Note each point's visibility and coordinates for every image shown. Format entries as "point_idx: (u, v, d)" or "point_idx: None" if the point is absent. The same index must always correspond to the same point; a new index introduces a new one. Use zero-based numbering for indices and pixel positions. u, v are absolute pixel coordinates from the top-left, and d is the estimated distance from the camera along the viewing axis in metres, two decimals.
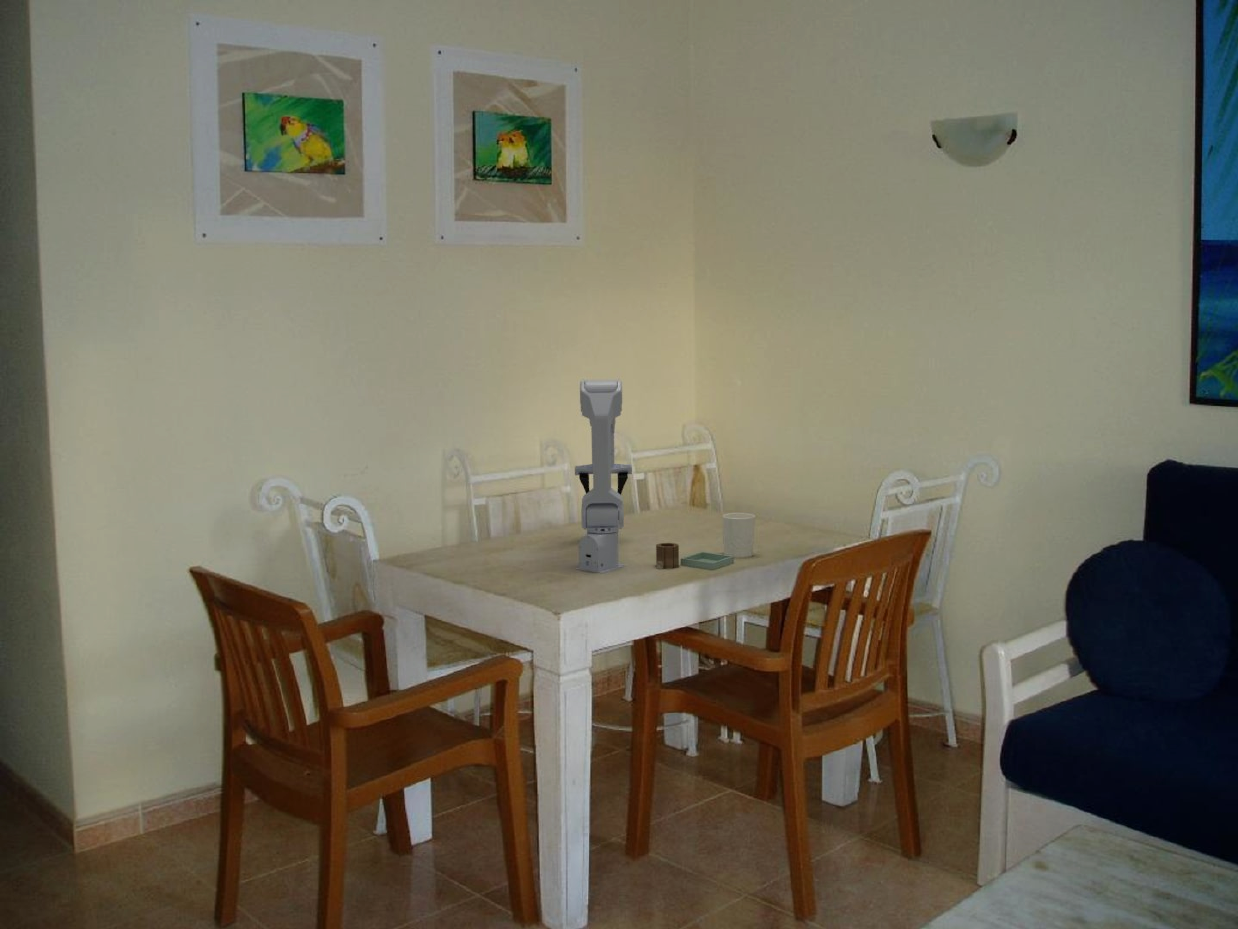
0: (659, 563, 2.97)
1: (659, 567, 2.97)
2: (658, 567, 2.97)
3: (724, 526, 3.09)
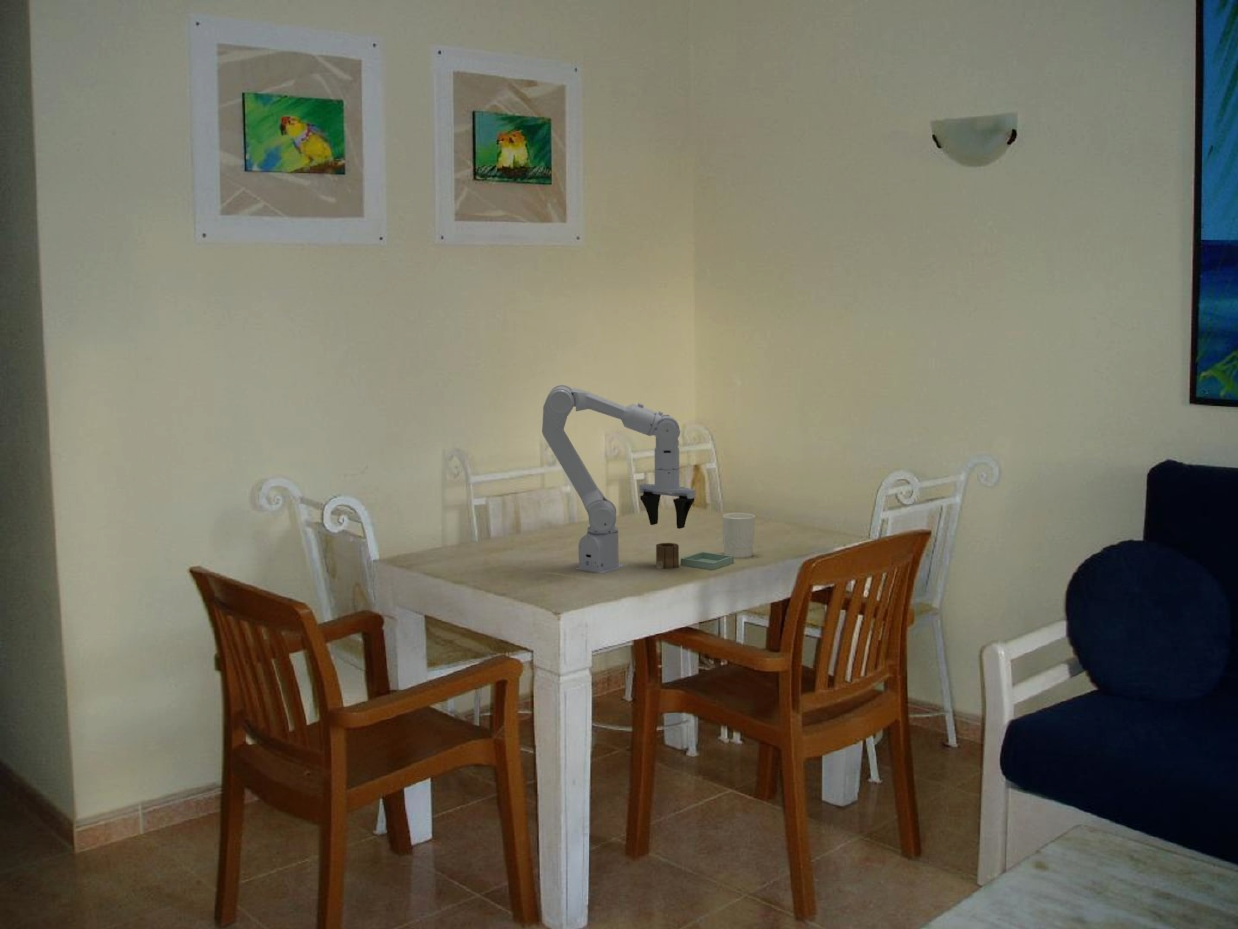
0: (659, 563, 2.97)
1: (659, 567, 2.97)
2: (658, 567, 2.97)
3: (724, 526, 3.09)
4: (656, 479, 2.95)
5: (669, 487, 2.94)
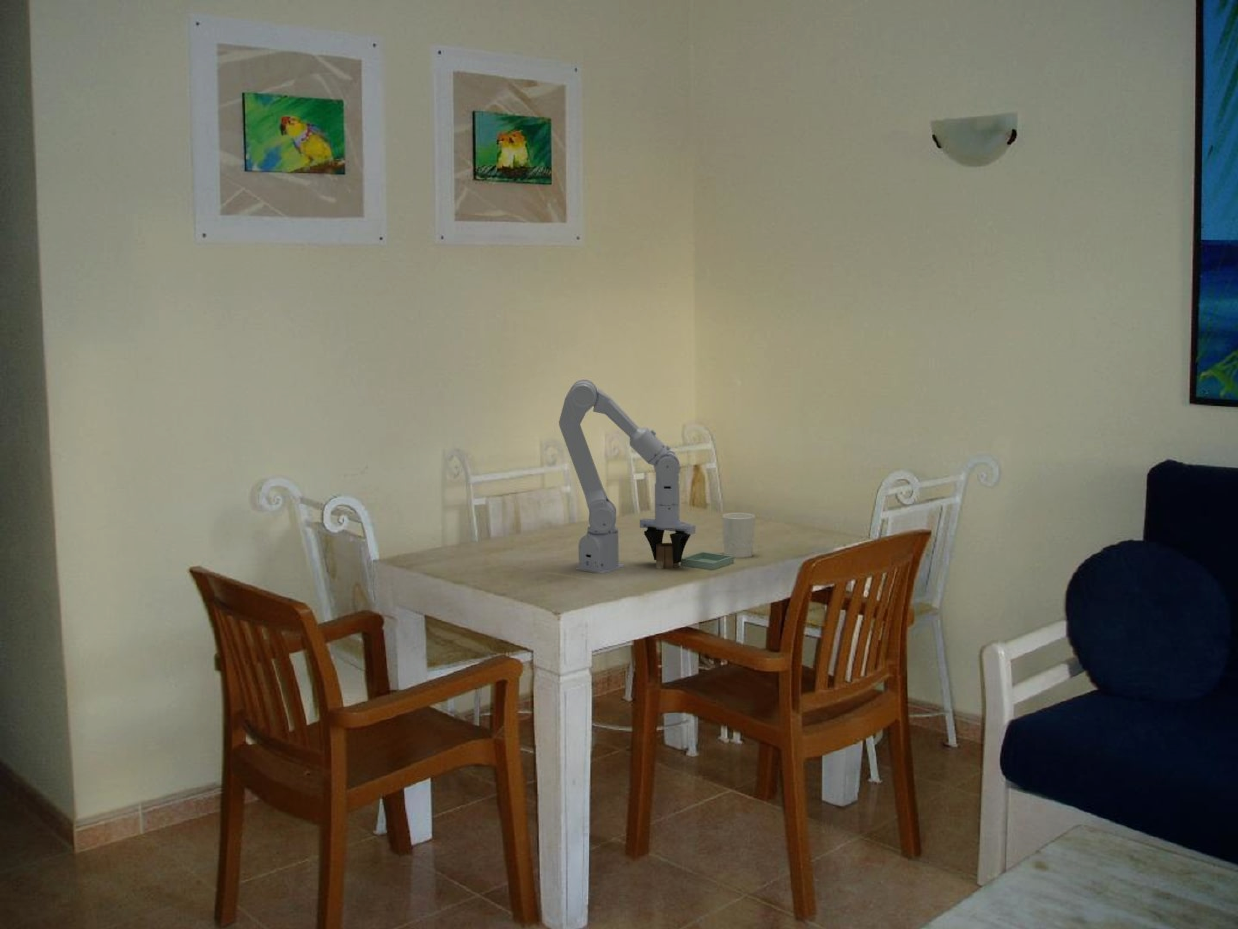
0: (659, 563, 2.97)
1: (659, 567, 2.97)
2: (658, 567, 2.97)
3: (724, 526, 3.09)
4: (656, 514, 2.97)
5: (669, 523, 2.95)
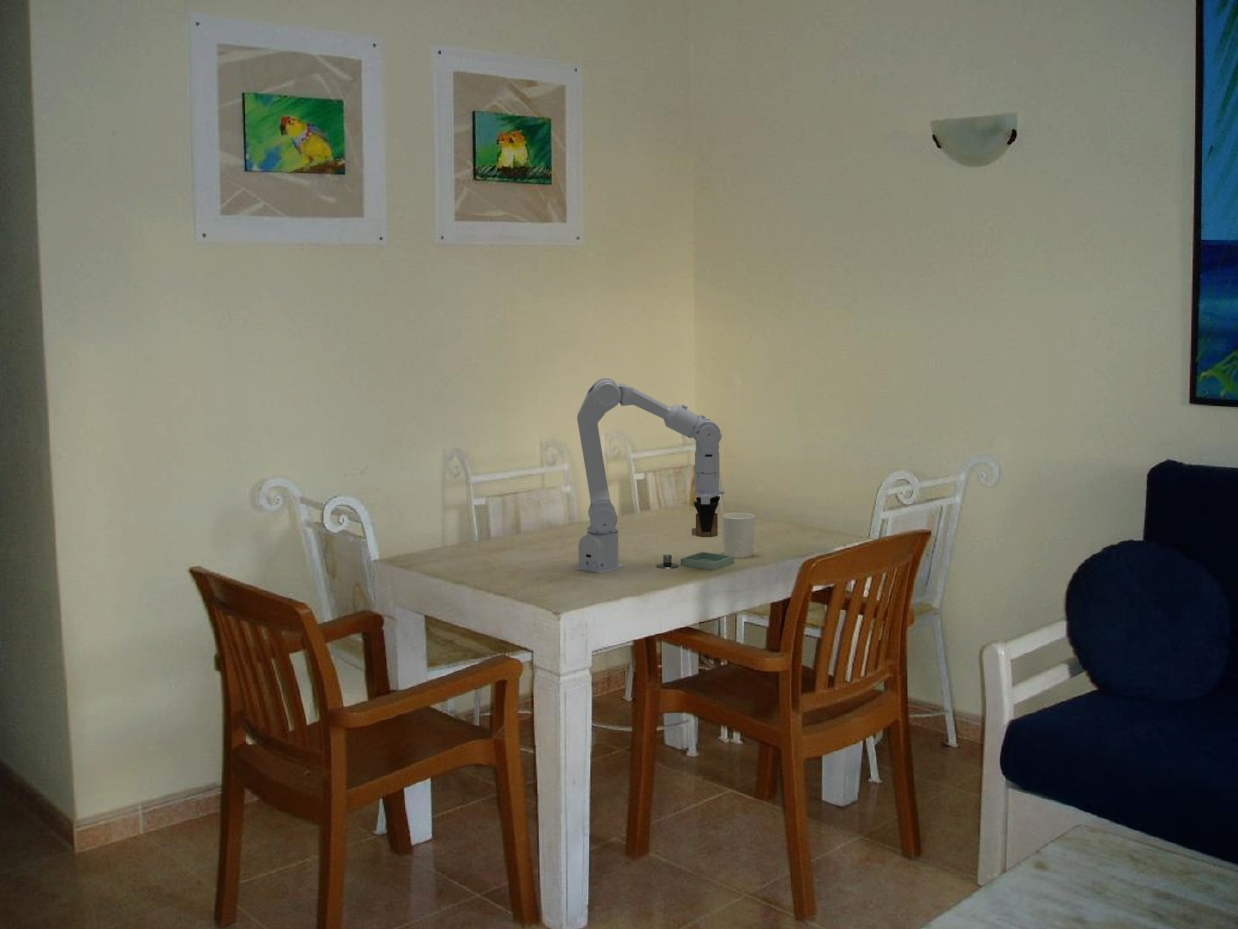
0: None
1: None
2: None
3: (724, 526, 3.09)
4: None
5: (698, 490, 2.97)
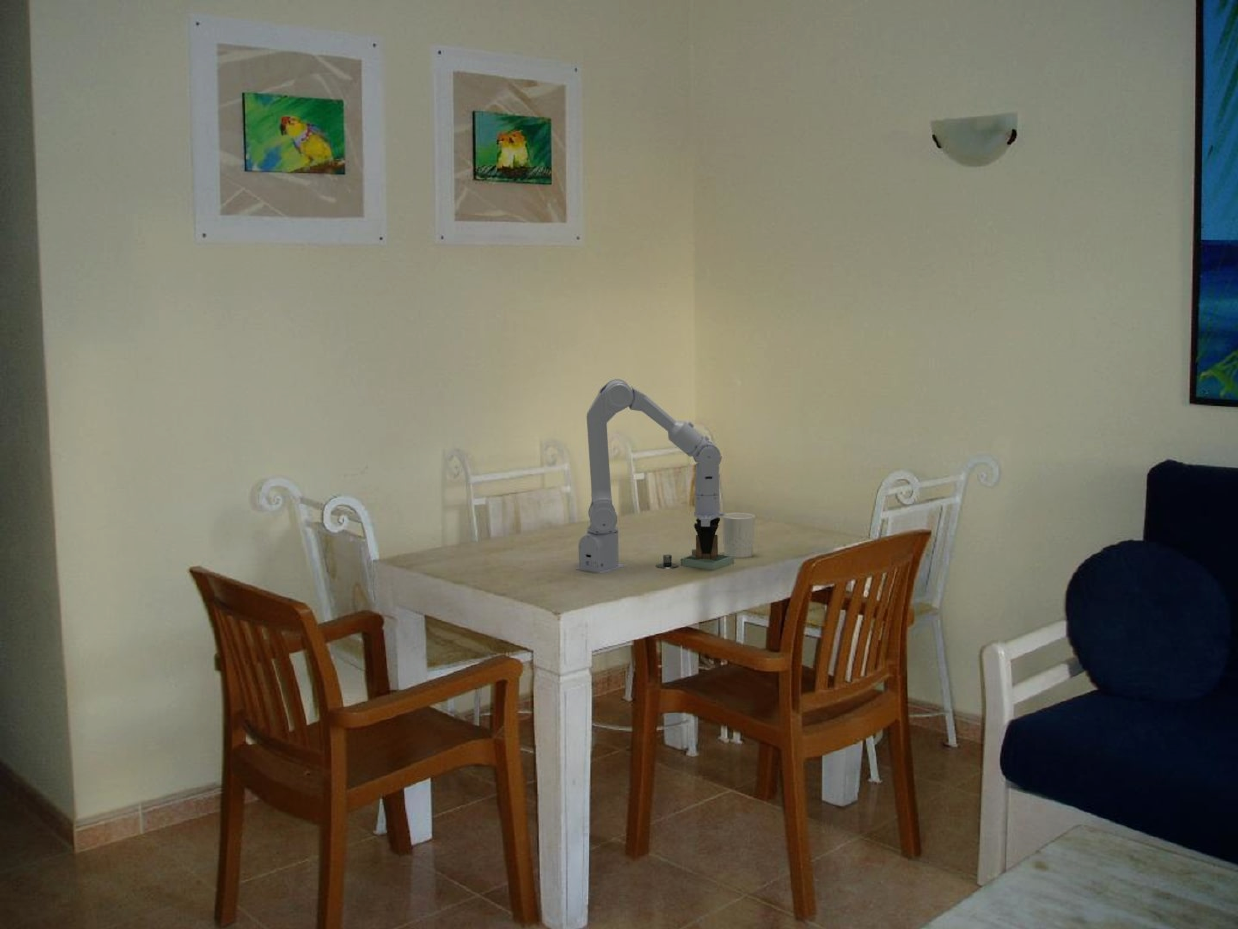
0: (692, 551, 3.01)
1: (692, 555, 3.01)
2: (692, 555, 3.02)
3: (724, 526, 3.09)
4: None
5: (698, 512, 2.98)
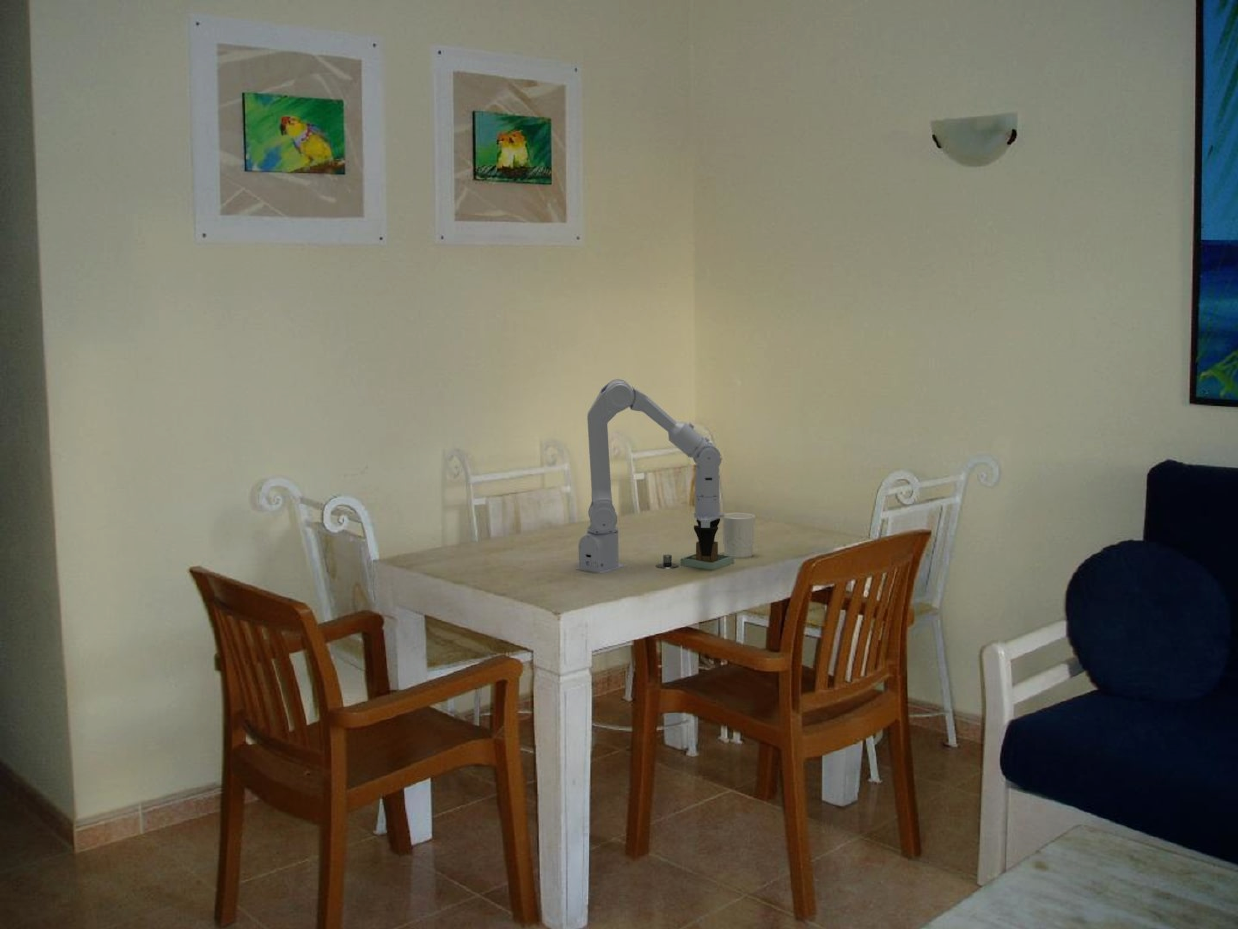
0: (692, 558, 3.01)
1: None
2: None
3: (724, 526, 3.09)
4: None
5: (698, 513, 2.98)
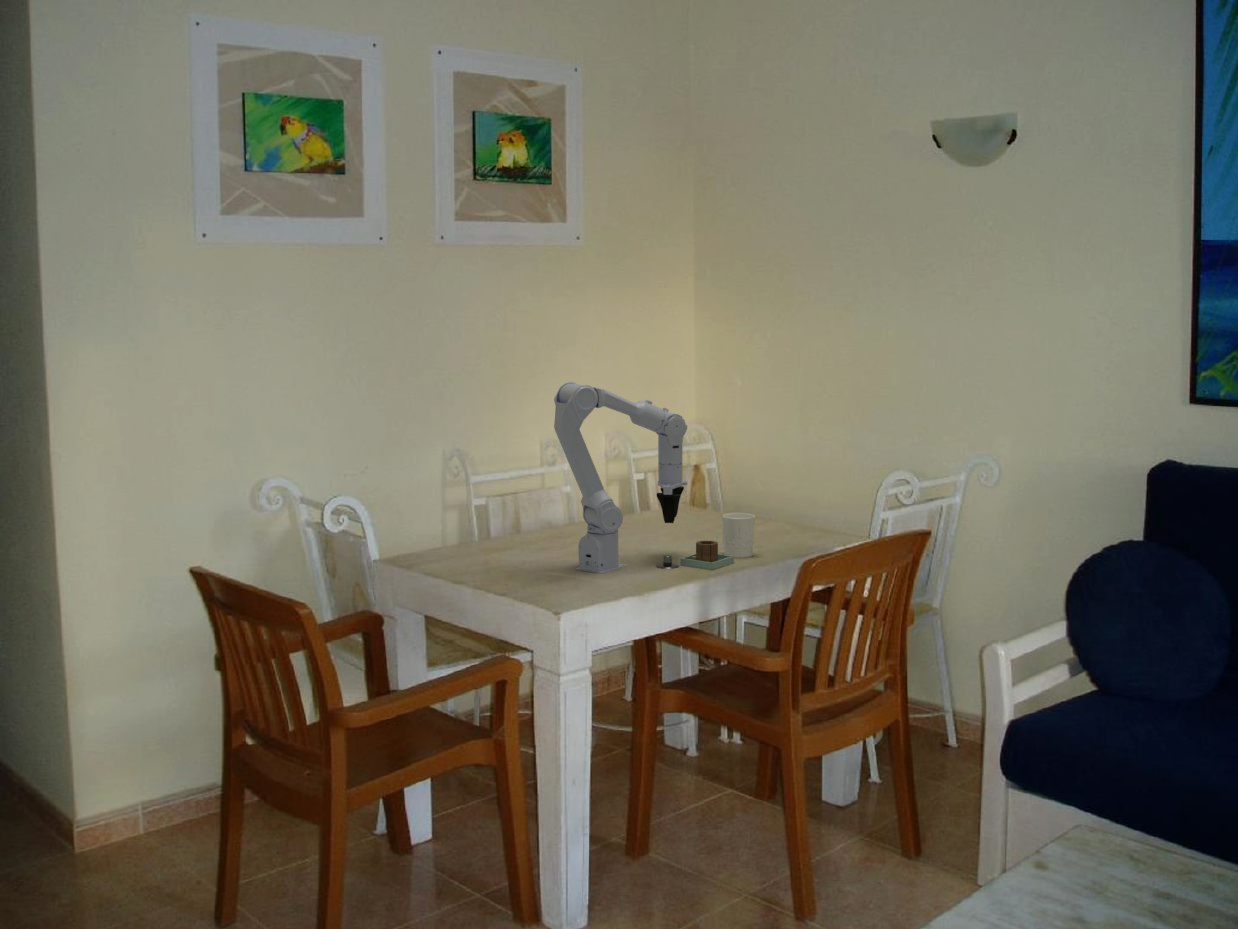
0: (692, 558, 3.01)
1: None
2: None
3: (724, 526, 3.09)
4: None
5: (661, 481, 3.03)
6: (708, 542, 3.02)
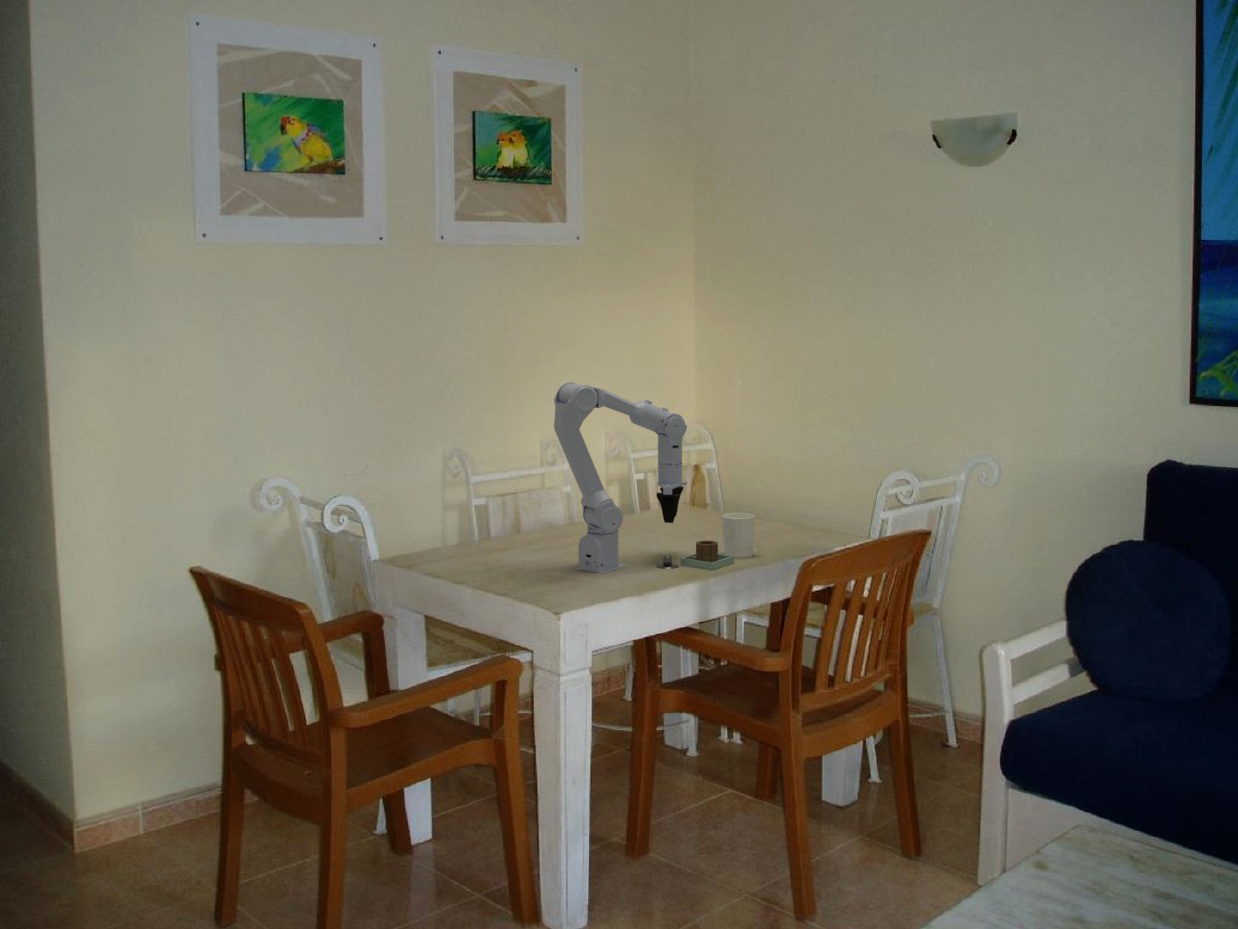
0: (692, 558, 3.01)
1: None
2: None
3: (724, 526, 3.09)
4: None
5: (661, 481, 3.03)
6: (708, 542, 3.02)
